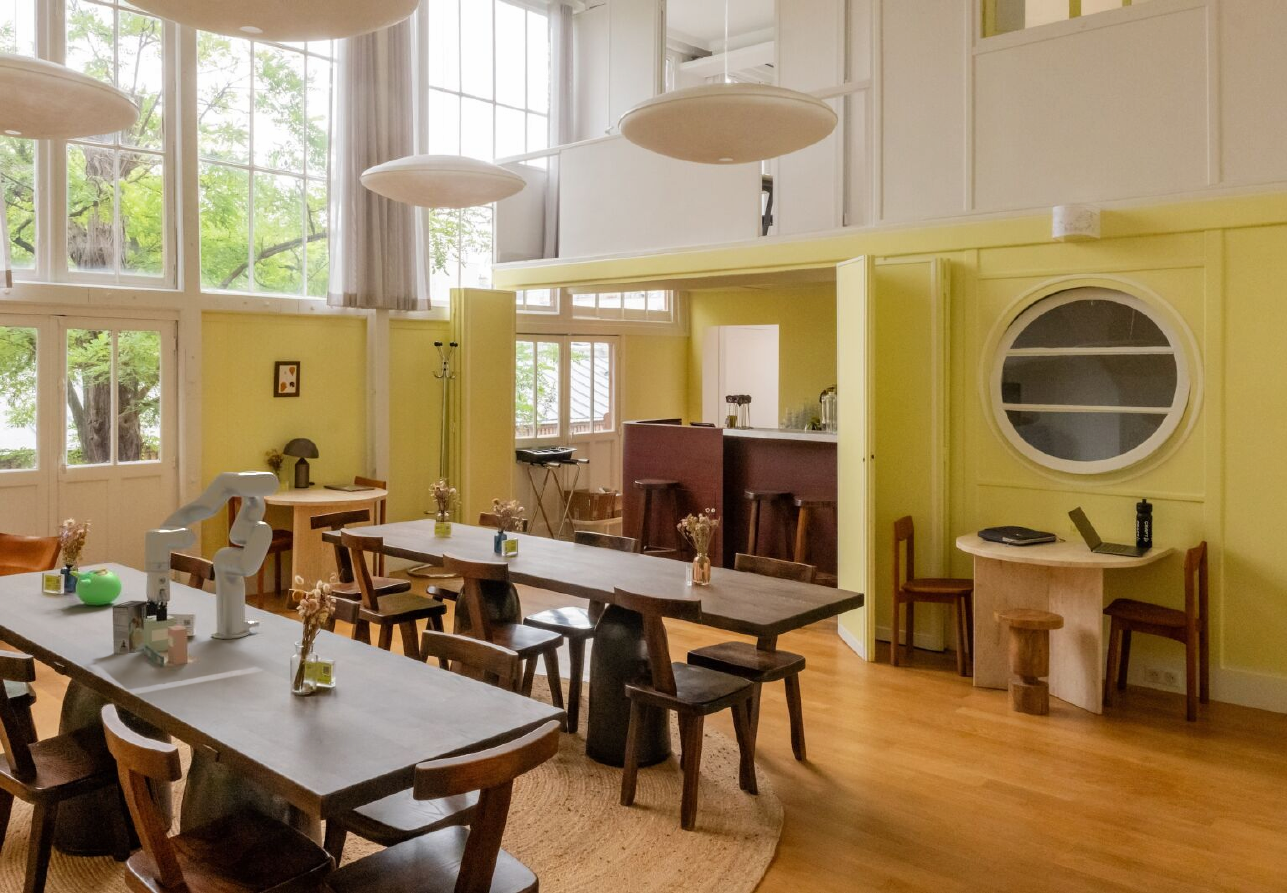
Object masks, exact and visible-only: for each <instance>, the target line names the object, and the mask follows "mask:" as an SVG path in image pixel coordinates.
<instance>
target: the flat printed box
mask: <svg viewBox="0 0 1287 893" xmlns="http://www.w3.org/2000/svg"><path fill="white" fill-rule="evenodd" d="M144 655H145V656H146V657H147V658H149V659H150V660H151V661H153V662H154V663H156V664H157V665H159V666H160V667H162V668H164V667H165V668H167V667H172V666H175V665H174V664H172V663H171V662H169V661H168V650H165V651H159V652H156V651H154V650H153V649H151V648H150V647H148V646H147V645H146V646H145V651H144ZM199 661H200V660H199V659H198V658H195V657H194V656H193V655H191V654H189V653H188V663H187V664H189V663H194V662H199ZM183 664H185V663H183ZM183 664H182V665H183ZM177 665H179V664H177ZM177 665H176V666H177Z"/></svg>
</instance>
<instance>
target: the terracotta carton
mask: <svg viewBox="0 0 1287 893" xmlns="http://www.w3.org/2000/svg"><path fill="white" fill-rule="evenodd" d="M167 651H168V661H169V662H171V663H172V664H174V665H173V666H177V664H178V665H183V663H184V664H189V663H188V654H189V653H188V628H187V627H185V626H184V625H182V624H179V625H174V626H171V627H168V650H167Z"/></svg>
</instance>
